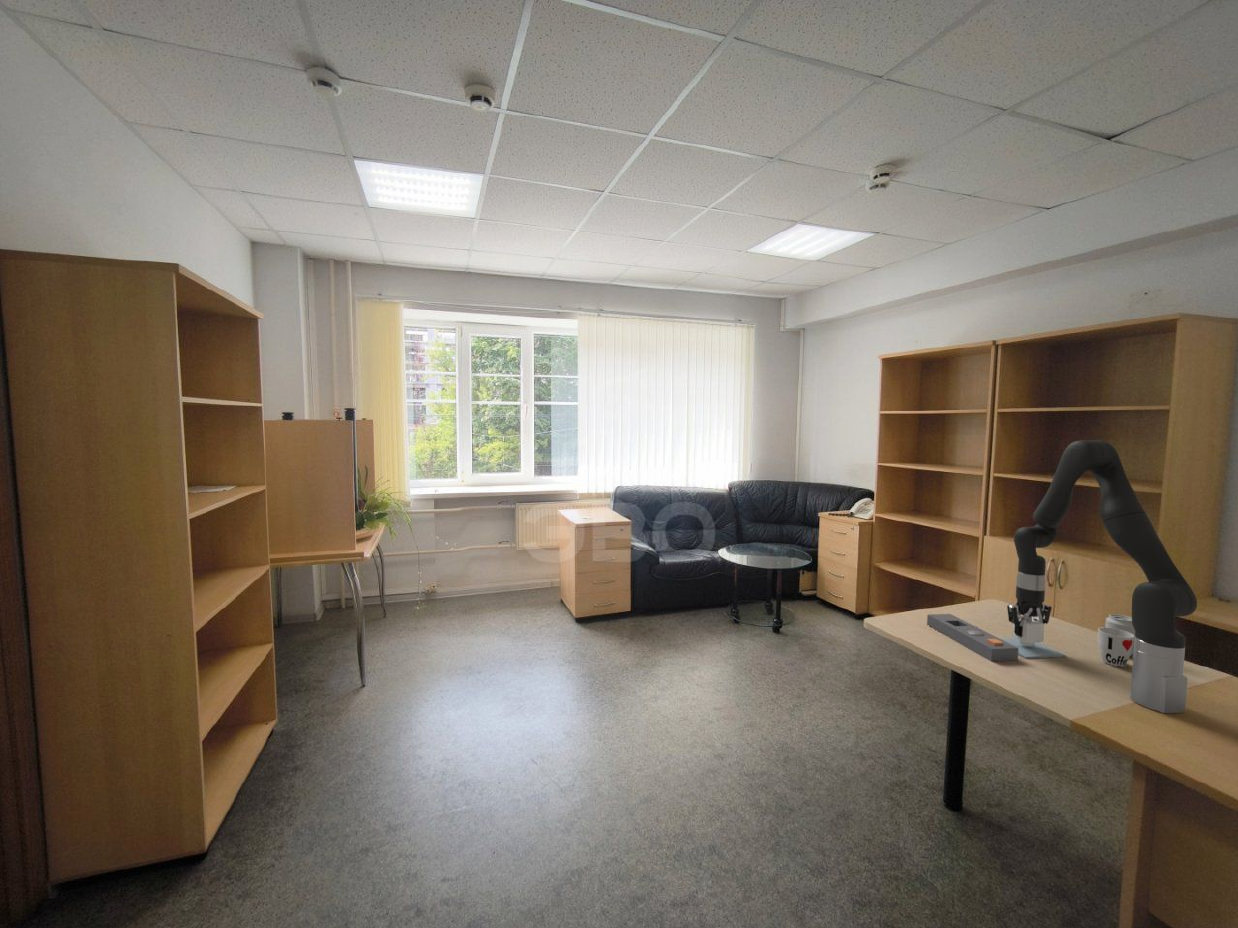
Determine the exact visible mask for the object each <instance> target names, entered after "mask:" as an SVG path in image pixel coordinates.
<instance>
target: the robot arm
mask: <svg viewBox="0 0 1238 928" xmlns="http://www.w3.org/2000/svg"><path fill="white" fill-rule="evenodd" d="M1086 472H1091V473H1092V475H1093V477H1094V478H1095V480H1096V482H1097V484H1098V487H1099V490H1100V505H1099V513H1100V514H1099V515H1100V519H1101V521H1102V523H1103V525H1104V527H1105V529H1106V531H1107V533H1108V535H1109V536H1110V538H1111V540H1112V541H1113V542H1114V543H1115V544H1116V545H1117V546H1118V547H1120V549H1121V550H1123V552H1125V553H1126V554H1127V555H1128V556H1129V557H1130V558H1132V559H1133V560H1134V561H1135V562H1136V564H1137V565H1138V566H1139V567H1140V568H1141V570H1142V572H1143V573H1144V575H1145V577H1146V580H1147V581H1145V582H1142V583H1139V584H1138V585H1137V586H1136V587H1135V588H1134V589H1133V592H1132V595H1131V597H1132V598H1131V618H1132V625H1133V627H1134V630H1135V642H1134V654H1133V655H1132V656H1133V657H1132V671H1131V682H1130V683H1131V685H1130V699H1131V701H1133V702H1134V703H1136V704H1139V706H1142V707H1144V708H1147V709H1150V710H1153V711H1157V712H1160V713H1162V714H1179V713H1181V714H1182V713H1183V714H1184V713H1185V712H1186V702H1187V701H1186V700H1187V691H1188V689H1187V688H1188V677H1187V676H1186V675H1184V666H1185V657H1186V656H1185V655H1186V654H1185V652H1186V644H1187V643H1186V641H1187V639H1186V638H1187V637H1186V636H1185V635H1184V634H1183V633H1181V632H1180V631H1177V630H1176V618H1177V617H1179V618H1180V617H1187V616H1190V615H1192V614H1193V613H1194V612H1195V611H1196V610H1197V607H1198V601H1197V596H1196V595H1195V592H1194V590H1193V589H1192V588H1191V586H1190V584H1189V583H1188V582H1187V580H1186V579H1185V577H1184V576H1183V575H1182V573H1181V571H1180V570H1179V569H1178V568H1177V566H1176V565H1175V563H1174V561H1173V560H1172V558H1171V557H1170V555H1169V553H1168V552H1167V549H1166V547H1165V545H1164V544H1163V542H1162V540H1161V539H1160V537H1159V535H1158V534H1157V531H1156V530H1155V527H1154V525H1153V524H1152V523H1153V522H1151V520H1150V517H1149V516H1148V514H1147V512H1146V511H1145V509H1144V507H1143V505H1142V504H1141V502H1140V500H1139V498H1138V497H1137V494H1136V492H1135V490H1134V488H1133V487H1132V485H1131V483H1130V481H1129V478H1128V477H1127V474H1126V472H1125V469H1124V466H1123V463H1122V461H1121V457H1120V456H1119V453H1118V451H1117V449H1116V448H1115V447H1114V446H1113V444H1111V443H1109V442H1107V441H1105V440H1099V439H1098V440H1095V439H1094V440H1093V439H1091V440H1089V439H1087V440H1085V439H1084V440H1076V441H1073V442H1071V443H1070V444H1068V445H1067V447H1066V448H1065V450H1064V451H1063V454H1062V455H1061V457H1060V460H1059V464H1058V466H1057V468H1056V471H1055V472H1054V475H1053V477H1052V480H1051V482H1050V485H1049V488H1048V489H1047V491H1046V493H1045V495H1044V497H1043V498H1042V500H1041V501H1040V502H1039V504H1038V506H1037V507H1036V509H1035V510H1034V512H1033V515H1032V519H1033V521H1034V522H1036V524H1035V525H1034V526H1023V527H1020V528H1017V530H1016V531H1015V533H1014V536H1013V542H1014V547H1015V551H1016V554H1017V557H1018V566H1017V574H1016V580H1015V598H1016V599H1017V601H1016V603H1015V604H1013V605H1011V604H1008V605H1007V606H1006V607H1007V617H1008V621H1009V623H1011V624H1013V623H1014V624H1015V630H1014V632H1015V634H1016V635H1017V636H1019V637H1022V633H1023V623H1024V622H1025V621H1026V620H1027V619H1028V617H1032V619H1033V620H1036V621H1038V622H1040V623H1043V624H1044V625H1047V624H1049V621H1050V616H1051V613H1052V609H1053V608H1052V606H1050V605H1048V604H1045V603H1044V602H1045V600H1046V599H1045V597H1046V583H1047V582H1046V563H1047V562H1046V559H1045V557H1043V556H1042V555H1039V554H1038V552H1037V549H1042V548H1046V547H1047V548H1048V547H1049V546H1050V545H1052V543H1053V542H1054V541H1055V539H1056V537H1057V534H1058V529H1059V525H1060V523H1061V522H1062V521H1063V519H1064V518H1065V516H1066V515H1067V514H1068V512H1069V510H1070V508H1071V506H1072V504H1073V503H1072V502H1073V491H1074V489H1075V485H1076V483H1077V482H1078V481H1079V479H1080V478H1081V477H1082V476H1083V474H1084V473H1086ZM1020 618H1021V620H1020ZM1019 620H1020V622H1019Z"/></svg>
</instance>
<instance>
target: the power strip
mask: <svg viewBox="0 0 1238 928" xmlns="http://www.w3.org/2000/svg"><path fill="white" fill-rule="evenodd" d="M926 615H927V616H926V617H927V619H926V625H927V626H928V625H929V626H928V627H930V626H931V627H930V628H931V629H933V628H934V629H933V630H935V631H937V632H939V633H940V634H942V635H944V636H946V637H947V638H949V639H951V640H953V641H955V642H956V643H958V644H960V645H961V646H962V647H963V646H964V647H965V648H968V649H969V650H971V651H973V653H976V654H978V656H979V655H980V656H981V657H983V658H984V659H986V660H988V661H990V662H1001V661H1002V662H1004V661H1005V662H1006V661H1019V655H1018V648H1017V647H1015V646H1013V645H1011V644H1009V643H1007V642H1005V641H1003V640H1001V639H1000V638H999V637H997V636H995V635H994V634H991V633H989V632H987V631H985V630H983V629H982V628H979V627H978V626H975V625H973V624H971V623H969V622H967V621H966V620H964V619H961V618H960V617H957V616H956V615H954V614H952V613H937V614H936V613H935V614H934V613H931V614H928V613H927V614H926Z"/></svg>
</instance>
